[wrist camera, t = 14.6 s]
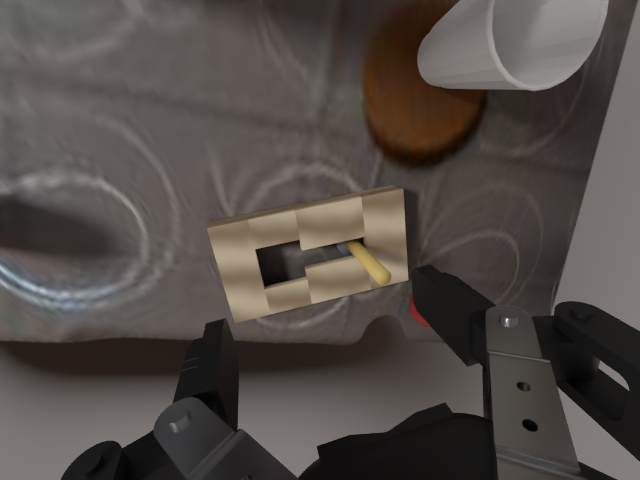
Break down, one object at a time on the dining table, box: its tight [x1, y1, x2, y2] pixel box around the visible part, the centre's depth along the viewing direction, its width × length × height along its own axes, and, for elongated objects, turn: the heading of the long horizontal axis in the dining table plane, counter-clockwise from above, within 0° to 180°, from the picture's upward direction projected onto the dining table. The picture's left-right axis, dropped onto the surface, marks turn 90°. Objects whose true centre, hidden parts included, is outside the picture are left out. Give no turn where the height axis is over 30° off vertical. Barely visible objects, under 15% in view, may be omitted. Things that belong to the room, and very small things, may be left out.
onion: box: [409, 295, 431, 327], centre depth 48 cm, size 6×6×8 cm
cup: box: [417, 0, 609, 91], centre depth 33 cm, size 12×12×16 cm
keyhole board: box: [207, 185, 408, 323], centre depth 44 cm, size 14×26×3 cm, turn 99°
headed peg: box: [335, 237, 392, 285], centre depth 40 cm, size 4×4×13 cm
